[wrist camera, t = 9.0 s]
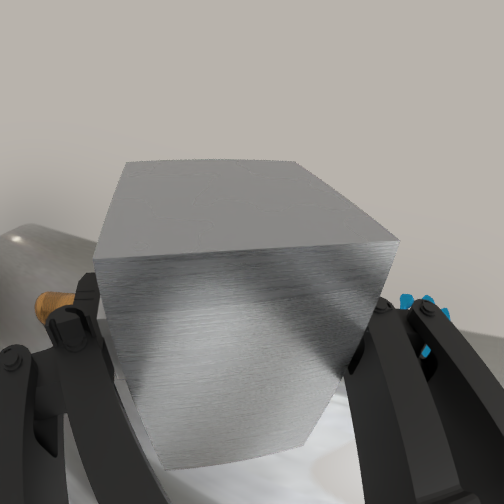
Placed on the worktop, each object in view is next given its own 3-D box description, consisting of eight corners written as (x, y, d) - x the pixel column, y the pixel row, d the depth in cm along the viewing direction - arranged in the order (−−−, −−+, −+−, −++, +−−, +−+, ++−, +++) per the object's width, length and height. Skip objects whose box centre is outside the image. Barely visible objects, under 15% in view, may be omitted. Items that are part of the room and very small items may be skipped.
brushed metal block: (164, 470, 10) (92, 259, 4) (151, 363, 14) (126, 162, 9) (302, 445, 11) (400, 240, 6) (262, 350, 16) (294, 161, 11)
